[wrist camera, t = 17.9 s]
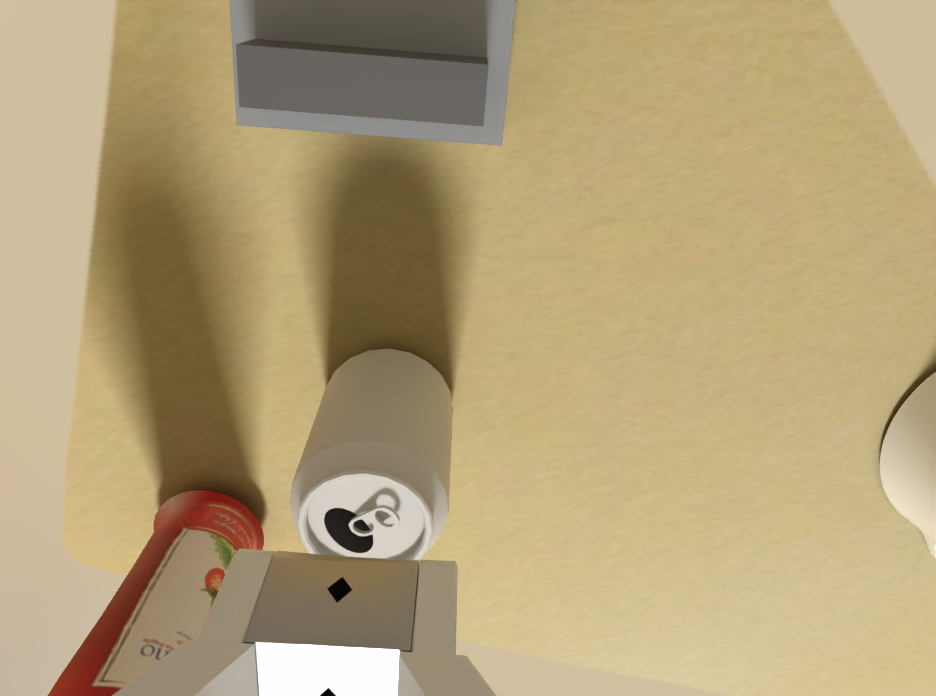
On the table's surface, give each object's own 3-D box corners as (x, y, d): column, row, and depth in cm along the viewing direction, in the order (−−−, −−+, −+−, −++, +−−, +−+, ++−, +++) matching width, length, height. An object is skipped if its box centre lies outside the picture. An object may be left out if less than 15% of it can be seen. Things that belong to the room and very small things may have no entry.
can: (301, 381, 44) (246, 510, 34) (405, 318, 43) (384, 433, 32) (375, 470, 47) (347, 616, 36) (476, 414, 45) (478, 550, 35)
